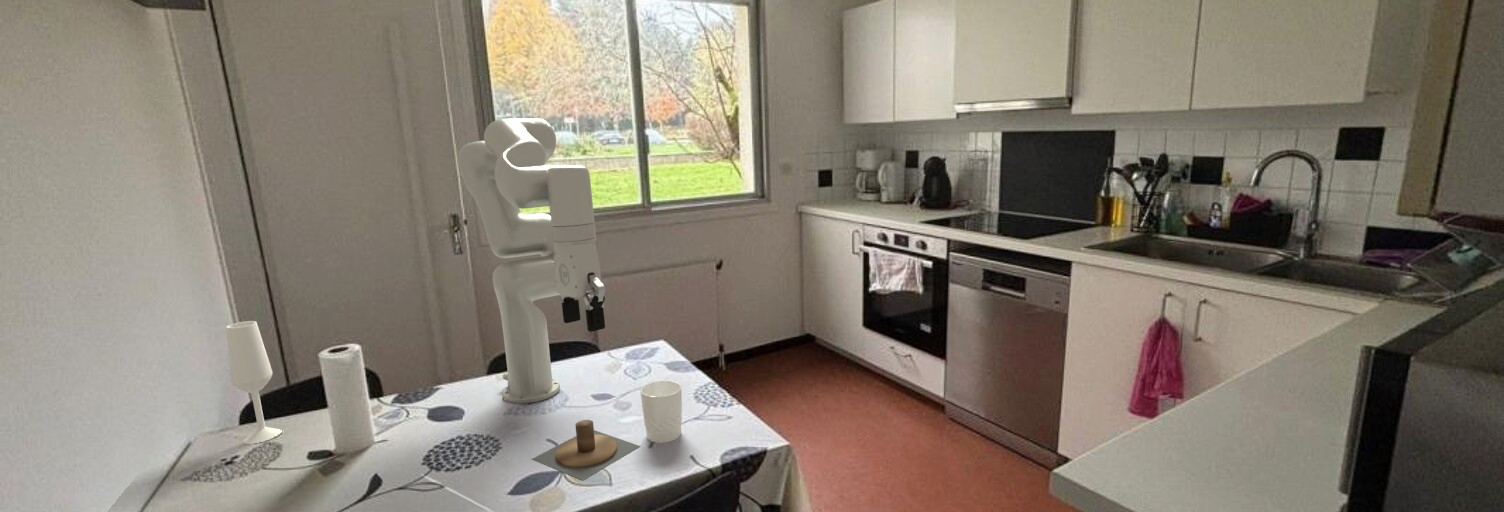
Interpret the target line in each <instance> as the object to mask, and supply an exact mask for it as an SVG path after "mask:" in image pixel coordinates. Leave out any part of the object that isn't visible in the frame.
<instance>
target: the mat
mask: <svg viewBox="0 0 1504 512" xmlns="http://www.w3.org/2000/svg"><path fill="white" fill-rule="evenodd" d="M594 435H605V436H609V437H611V438H613V439H614V440H615V441H616V444H617V451H616V453H615V454H614V455H613V457H611V458H610V459H608V460H607V461H605V462H603V463H600V464H598V465H594V466H590V467H583V468H572V467H566V466H563V465H561V464H560V463H558V461H557V459H556V451H557V449H558V448H559V447H560V446H561V445H562V444H563V443H565V442H567V441H569V440H571V439H573V438H576V435H575V436H573V437H571V438H570V439H568V440H566V441H564V442H562V443H560V444H557V445H556V446H554V447H552V448H550V449H549V450H546V451H544V452H543V453H540V454H538V455H536V456H534V457H533V458H531V460H533V461H535V462H538V463H539V464H542V465H544V466H547V467H549V468H552V469H554V470H557V471H559V472H561V473H564V474H566V475H568V476H571V477H573V478H576V479H578V480H580V481H585V480H587V479H588V478H591V477H592V476H593V475H595V474H597V473H598V472H601V470H603V469H605V468H607V467H608V466H610V465H611V464H614V463H615V462H617V461H618V460H620V459H622V458H623V457H624V458H625V456H627V455H629V454H630V453H632V452H634V451H636V450H637V449H639V448H641V445H639V444H635V443H632V442H629V441H627V440H624V439H621V438H618V437H616V436H613V435H609V434H607V433H603V432H601V431H598V430H595V429H594Z"/></svg>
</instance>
